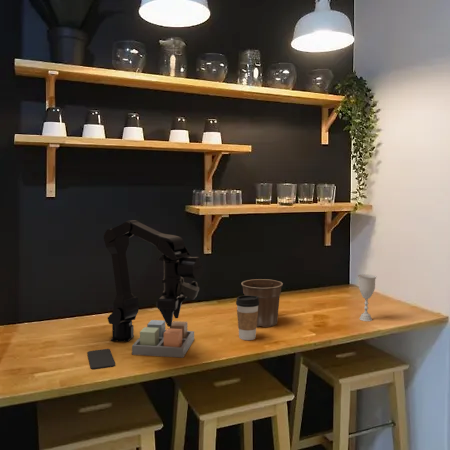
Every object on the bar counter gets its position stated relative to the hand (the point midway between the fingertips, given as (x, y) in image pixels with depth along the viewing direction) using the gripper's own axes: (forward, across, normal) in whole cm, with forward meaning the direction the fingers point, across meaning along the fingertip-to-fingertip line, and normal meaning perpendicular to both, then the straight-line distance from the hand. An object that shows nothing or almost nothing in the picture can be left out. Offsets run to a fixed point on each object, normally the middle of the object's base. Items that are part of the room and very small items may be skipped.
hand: (173, 322), depth 151 cm
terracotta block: (+9, 0, 0) cm, 9 cm away
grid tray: (+10, +4, +4) cm, 12 cm away
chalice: (+10, +47, -69) cm, 84 cm away
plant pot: (+10, +36, -27) cm, 46 cm away
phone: (+10, -9, +21) cm, 25 cm away
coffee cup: (+10, +18, -23) cm, 31 cm away
